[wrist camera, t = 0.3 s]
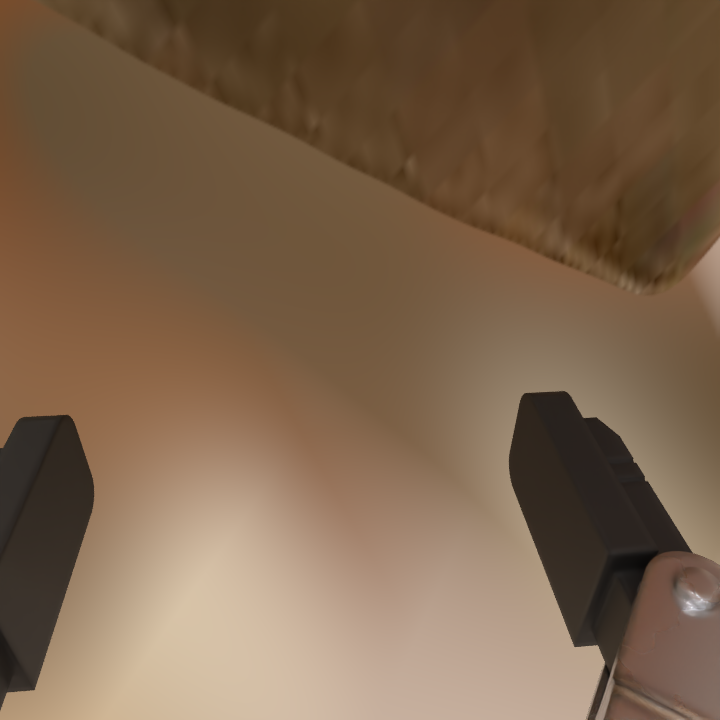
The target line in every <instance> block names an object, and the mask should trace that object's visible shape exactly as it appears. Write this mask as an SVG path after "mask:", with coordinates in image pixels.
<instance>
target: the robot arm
mask: <svg viewBox="0 0 720 720" xmlns="http://www.w3.org/2000/svg"><path fill="white" fill-rule="evenodd" d="M509 471H510V478H511V483H512V486H513V489H514V491H515V494H516V497H517V499H518V502H519V504H520V507H521V510H522V512H523V515H524V517H525V520H526V522H527V525H528V528H529V530H530V533H531V535H532V538H533V541H534V543H535V546H536V548H537V551H538V554H539V556H540V559H541V561H542V564H543V566H544V569H545V572H546V574H547V577H548V579H549V582H550V585H551V587H552V590H553V592H554V595H555V598H556V600H557V603H558V605H559V608H560V610H561V613H562V616H563V618H564V621H565V624H566V626H567V629H568V631H569V634H570V636H571V639H572V642H573V644H574V647H581V646H593V645H598V646H599V649H600V651H601V654H602V656H603V658H604V661H605V664H604V666H603V668H602V670H601V673H600V677H599V680H598V683H597V686H596V689H595V692H594V695H593V698H592V701H591V705H590V708H589V711H588V714H587V717H586V720H720V565H718V564H717V563H715V562H714V561H712V560H709V559H707V558H705V557H703V556H700V555H697V554H693V553H692V551H691V550H690V548H689V547H688V545H687V544H686V542H685V540H684V539H683V537H682V536H681V534H680V532H679V531H678V529H677V527H676V526H675V524H674V523H673V521H672V519H671V518H670V516H669V515H668V513H667V511H666V510H665V509H664V507H663V505H662V504H661V502H660V500H659V499H658V497H657V495H656V494H655V492H654V491H653V489H652V487H651V486H650V484H649V483H648V482H647V481H645V476H644V475H643V473H642V471H641V470H640V468H639V467H638V465H637V463H634V462H633V457H632V456H631V454H630V452H629V451H628V449H627V448H626V446H625V444H624V443H623V441H622V439H621V438H620V436H619V435H617V434H616V433H615V432H614V431H613V430H611V429H610V428H609V427H608V426H606V425H605V424H604V423H603V422H601V421H600V420H599V419H598V418H583V417H582V415H581V413H580V412H579V410H578V409H577V406H576V405H575V403H574V402H573V400H572V398H571V396H570V395H569V394H568V393H567V392H565V391H559V392H539V393H525V394H524V395H523V396H522V398H521V400H520V404H519V410H518V414H517V419H516V424H515V430H514V434H513V439H512V444H511V449H510V454H509ZM93 502H94V484H93V478H92V475H91V472H90V469H89V465H88V462H87V459H86V456H85V453H84V450H83V448H82V444H81V441H80V438H79V435H78V432H77V429H76V426H75V423H74V421H73V419H72V418H71V417H70V416H69V415H57V416H37V417H23V418H21V419H19V420H18V422H17V423H16V425H15V427H14V428H13V430H12V432H11V434H10V436H9V438H8V440H7V442H6V444H5V445H4V448H0V710H1V707H2V704H3V701H4V698H5V696H6V693H7V692H17V691H29V690H35V687H36V684H37V680H38V677H39V674H40V671H41V668H42V665H43V662H44V659H45V656H46V653H47V649H48V646H49V643H50V640H51V637H52V634H53V631H54V627H55V625H56V622H57V618H58V615H59V612H60V609H61V606H62V603H63V600H64V597H65V594H66V590H67V587H68V584H69V581H70V578H71V575H72V572H73V569H74V566H75V562H76V559H77V556H78V553H79V550H80V547H81V544H82V541H83V538H84V534H85V532H86V528H87V525H88V522H89V519H90V516H91V513H92V509H93Z"/></svg>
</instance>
